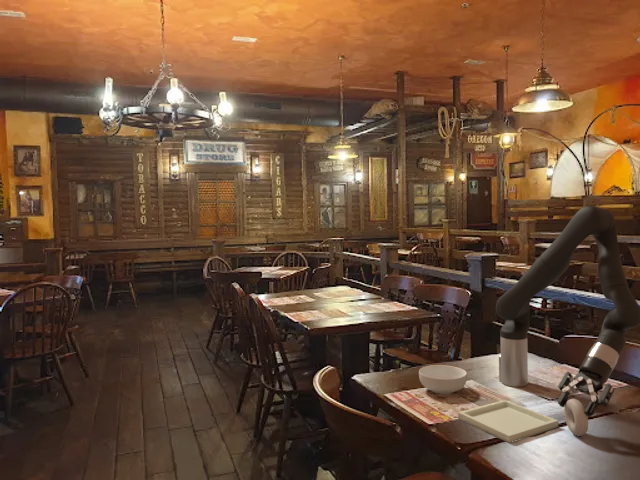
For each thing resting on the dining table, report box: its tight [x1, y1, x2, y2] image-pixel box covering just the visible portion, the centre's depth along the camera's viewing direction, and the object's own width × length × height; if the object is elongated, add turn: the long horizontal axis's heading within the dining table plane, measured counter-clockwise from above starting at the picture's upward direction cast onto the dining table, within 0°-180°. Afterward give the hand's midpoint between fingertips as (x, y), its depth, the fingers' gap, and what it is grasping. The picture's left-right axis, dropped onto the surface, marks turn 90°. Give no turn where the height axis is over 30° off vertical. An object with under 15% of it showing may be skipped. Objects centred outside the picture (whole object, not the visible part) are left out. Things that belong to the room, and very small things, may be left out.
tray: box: [457, 399, 559, 444], centre depth 153 cm, size 20×20×2 cm
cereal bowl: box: [418, 364, 468, 395], centre depth 183 cm, size 17×17×7 cm
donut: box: [563, 398, 589, 437], centre depth 143 cm, size 10×3×10 cm, turn 177°
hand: (573, 410), depth 142 cm, fingers closed on donut, 7 cm apart
